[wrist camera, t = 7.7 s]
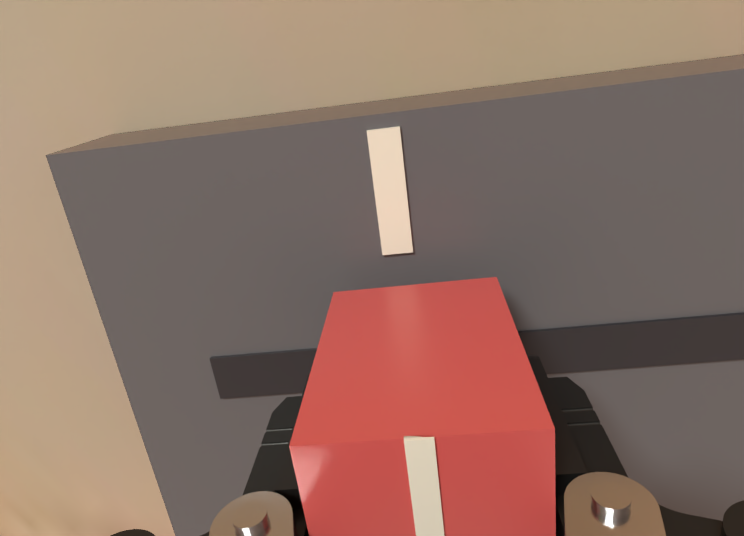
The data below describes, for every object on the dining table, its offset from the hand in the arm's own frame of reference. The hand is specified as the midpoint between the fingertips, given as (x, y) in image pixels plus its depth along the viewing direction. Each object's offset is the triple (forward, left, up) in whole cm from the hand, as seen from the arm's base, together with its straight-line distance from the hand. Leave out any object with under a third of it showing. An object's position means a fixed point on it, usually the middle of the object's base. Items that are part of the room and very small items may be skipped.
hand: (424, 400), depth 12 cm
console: (-4, 0, -5) cm, 6 cm away
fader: (0, 0, -1) cm, 1 cm away
